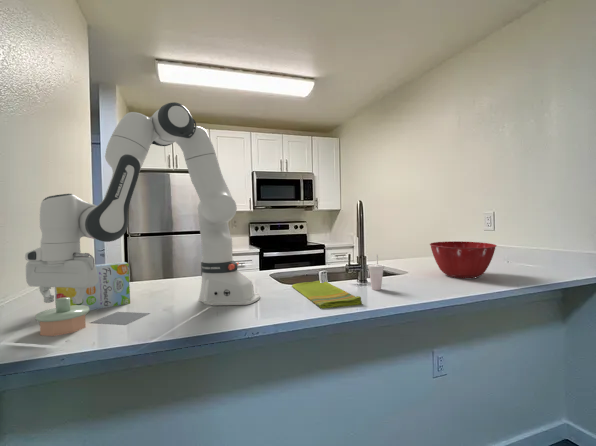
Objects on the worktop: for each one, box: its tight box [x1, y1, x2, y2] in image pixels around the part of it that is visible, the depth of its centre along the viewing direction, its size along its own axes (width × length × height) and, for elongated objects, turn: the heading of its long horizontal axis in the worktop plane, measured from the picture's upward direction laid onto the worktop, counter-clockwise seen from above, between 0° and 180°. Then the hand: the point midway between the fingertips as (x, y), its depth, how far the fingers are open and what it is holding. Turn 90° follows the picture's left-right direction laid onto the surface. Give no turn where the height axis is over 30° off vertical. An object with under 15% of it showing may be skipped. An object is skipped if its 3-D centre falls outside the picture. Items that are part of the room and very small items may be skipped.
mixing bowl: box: [429, 240, 497, 279], centre depth 157 cm, size 28×28×16 cm
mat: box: [89, 311, 151, 326], centre depth 100 cm, size 12×11×1 cm
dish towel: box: [291, 280, 363, 309], centre depth 126 cm, size 15×36×3 cm, turn 17°
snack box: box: [54, 261, 131, 311], centre depth 112 cm, size 21×6×15 cm, turn 129°
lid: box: [35, 297, 90, 323], centre depth 91 cm, size 12×12×4 cm
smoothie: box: [367, 254, 385, 291], centre depth 133 cm, size 6×6×14 cm
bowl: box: [39, 314, 87, 337], centre depth 91 cm, size 10×10×4 cm
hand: (63, 302), depth 91 cm, fingers open, 8 cm apart
